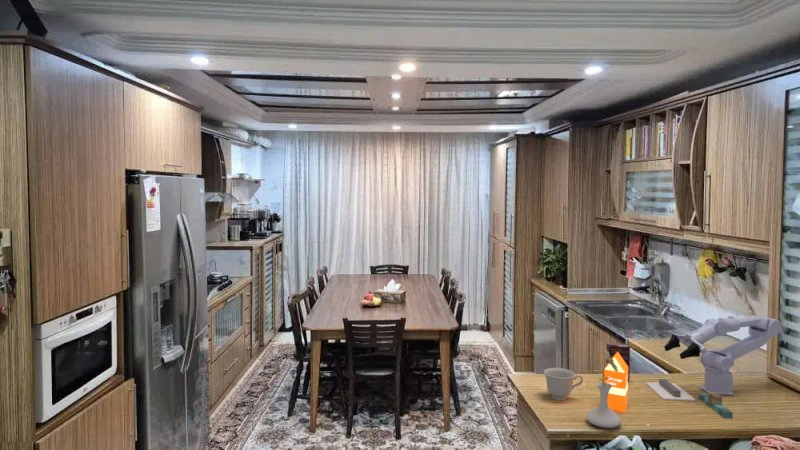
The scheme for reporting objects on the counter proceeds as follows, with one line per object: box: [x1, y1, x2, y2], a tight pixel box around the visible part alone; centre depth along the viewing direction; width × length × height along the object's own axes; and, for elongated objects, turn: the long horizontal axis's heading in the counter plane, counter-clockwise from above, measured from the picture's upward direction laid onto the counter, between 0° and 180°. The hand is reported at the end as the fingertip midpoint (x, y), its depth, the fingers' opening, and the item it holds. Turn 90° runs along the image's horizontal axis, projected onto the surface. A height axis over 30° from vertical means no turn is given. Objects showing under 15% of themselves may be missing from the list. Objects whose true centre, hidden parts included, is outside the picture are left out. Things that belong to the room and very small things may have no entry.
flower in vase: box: [585, 350, 622, 429], centre depth 175 cm, size 13×11×25 cm
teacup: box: [543, 367, 584, 401], centre depth 198 cm, size 12×15×10 cm
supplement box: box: [605, 343, 631, 384], centre depth 218 cm, size 9×5×16 cm, turn 84°
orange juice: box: [603, 352, 629, 413], centre depth 191 cm, size 8×9×20 cm
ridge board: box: [645, 378, 697, 402], centre depth 206 cm, size 12×18×3 cm, turn 175°
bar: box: [698, 392, 734, 419], centre depth 190 cm, size 18×3×6 cm, turn 175°
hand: (672, 352), depth 201 cm, fingers open, 7 cm apart
